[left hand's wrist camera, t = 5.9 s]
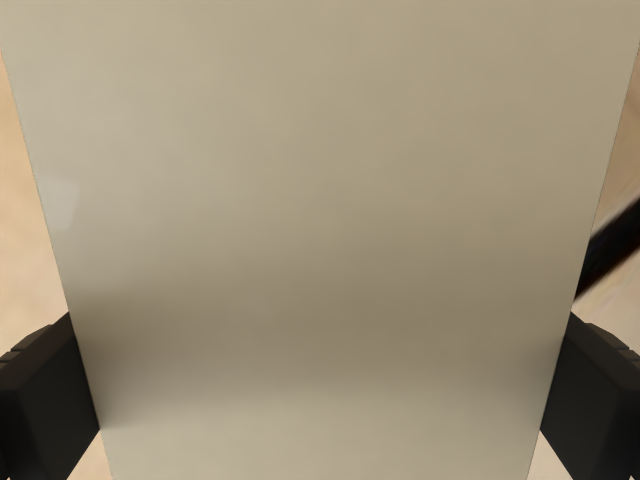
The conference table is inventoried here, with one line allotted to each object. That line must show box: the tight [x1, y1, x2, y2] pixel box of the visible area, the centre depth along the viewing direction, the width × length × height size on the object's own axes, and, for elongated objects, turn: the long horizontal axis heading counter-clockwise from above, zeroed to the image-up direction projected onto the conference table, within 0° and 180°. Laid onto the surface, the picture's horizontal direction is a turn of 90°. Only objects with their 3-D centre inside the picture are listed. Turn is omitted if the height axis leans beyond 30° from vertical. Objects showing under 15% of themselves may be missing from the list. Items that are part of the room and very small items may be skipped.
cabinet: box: [0, 0, 640, 480], centre depth 12 cm, size 18×11×11 cm, turn 0°
